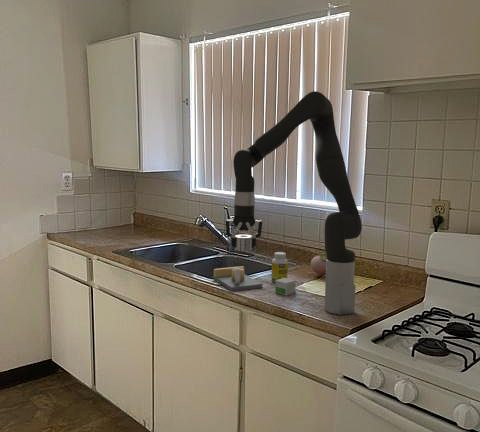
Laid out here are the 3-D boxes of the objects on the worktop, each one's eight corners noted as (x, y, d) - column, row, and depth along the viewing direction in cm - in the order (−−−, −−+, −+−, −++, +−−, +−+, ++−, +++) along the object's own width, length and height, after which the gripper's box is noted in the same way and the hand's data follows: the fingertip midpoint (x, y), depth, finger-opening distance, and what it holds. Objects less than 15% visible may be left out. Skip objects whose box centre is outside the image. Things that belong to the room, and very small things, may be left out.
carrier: (262, 287, 191) (262, 268, 190) (231, 291, 185) (231, 271, 184) (242, 276, 207) (242, 259, 206) (213, 279, 202) (213, 261, 201)
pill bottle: (274, 283, 197) (275, 255, 195) (269, 279, 203) (269, 251, 202) (289, 282, 199) (290, 254, 197) (284, 278, 205) (284, 251, 203)
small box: (274, 292, 185) (274, 280, 184) (284, 289, 189) (284, 277, 188) (286, 296, 181) (286, 283, 180) (295, 292, 185) (296, 280, 184)
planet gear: (254, 250, 184) (255, 237, 184) (239, 251, 182) (239, 238, 181) (247, 246, 190) (247, 234, 189) (232, 248, 187) (232, 235, 187)
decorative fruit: (307, 274, 213) (307, 251, 212) (324, 273, 215) (325, 250, 214) (315, 279, 204) (316, 256, 203) (334, 278, 206) (334, 255, 205)
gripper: (263, 202, 187) (261, 245, 189) (225, 201, 187) (224, 244, 189) (264, 205, 179) (262, 250, 182) (224, 204, 179) (223, 249, 182)
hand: (243, 247), depth 186 cm, fingers closed on planet gear, 6 cm apart
